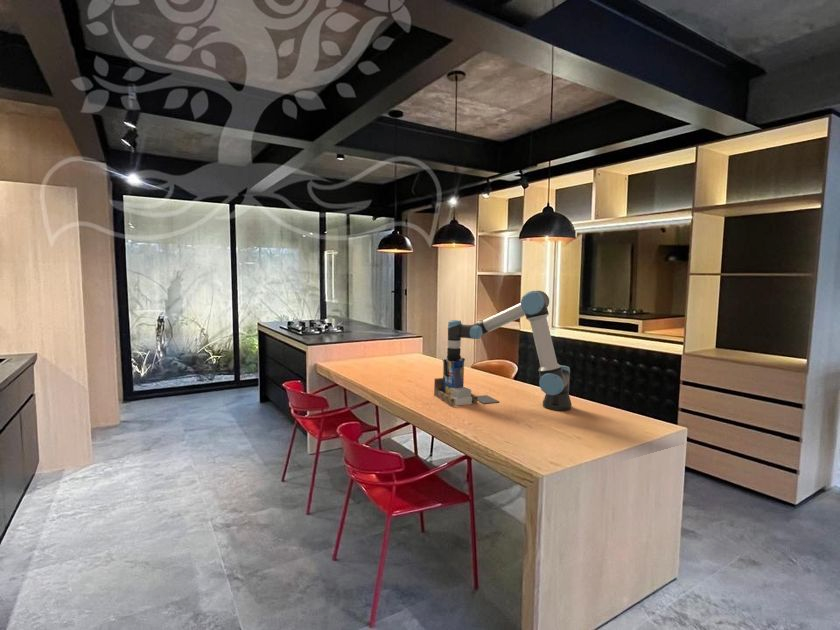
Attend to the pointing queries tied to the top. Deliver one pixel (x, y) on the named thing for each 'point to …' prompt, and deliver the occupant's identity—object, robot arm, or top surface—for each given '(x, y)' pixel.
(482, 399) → the mat
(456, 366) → the beverage box
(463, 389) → the offcut top
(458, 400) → the offcut low
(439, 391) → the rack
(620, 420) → the top surface
